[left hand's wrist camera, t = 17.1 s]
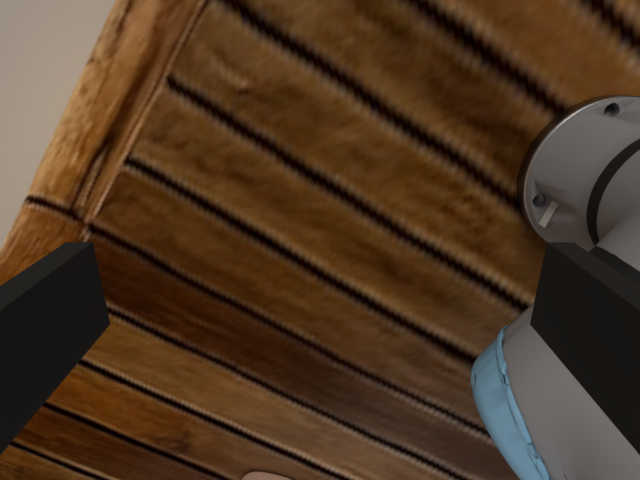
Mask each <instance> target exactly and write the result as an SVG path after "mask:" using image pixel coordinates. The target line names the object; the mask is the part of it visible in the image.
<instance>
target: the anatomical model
mask: <svg viewBox="0 0 640 480" xmlns="http://www.w3.org/2000/svg"><path fill="white" fill-rule="evenodd" d="M241 480H292V479H289V478H286V477H283V476H280V475H276V474H271V473H266V472H250V473H248V474H246V475H245V476H244V477H243V478H242V479H241Z"/></svg>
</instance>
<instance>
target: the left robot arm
mask: <svg viewBox="0 0 640 480" xmlns="http://www.w3.org/2000/svg"><path fill="white" fill-rule="evenodd" d="M517 190H518V201H519V206H520V210H521V212H522V215H523V217H524V219H525V221H526V222H527V224H528V225H529V227H530V228H531V229H532V230H533V231H534V232H535V233H536V234H537V235H538V236H540V237H541V238H542V239H544V240H545V241H546V242H547V246H546V251H545V256H544V260H543V265H542V270H541V274H540V279H539V284H538V288H537V293H536V298H535V302H534V303H533V304H532V305H531V306H530V307H528V308H527V309H526V310H525V311H524V312H523V313H522V314H521V315H520V316H519V317H518V318H517V319H516V320H515V321H513V322H512V323H511V324H510V325H509V326H508V325H506V326H504V327H503V328H502V329H501V330H500V331H499V333H498V337H497V338H496V339H495V340H494V341H493V342H492V343H491V344H490V345H489V346H488V347H487V348H486V349H485V350H484V351H483V352H482V353H481V355H480V356H479V357H478V358H477V359H476V361H475V362H474V364H473V367H472V370H471V386H472V390H473V391H472V392H473V397H474V401H475V404H476V407H477V409H478V412H479V414H480V416H481V419H482V421H483V423H484V425H485V427H486V429H487V431H488V433H489V434H490V436H491V438H492V440H493V441H494V443H495V445H496V446H497V448H498V449H499V451H500V452H501V454H502V455H503V457H504V458H505V460H506V461H507V463H508V464H509V466H510V467H511V468H512V470H513V471H514V472H515V474H516V475H517V476H518V477H519V478H520V480H640V97H638V96H626V95H608V96H601V97H596V98H593V99H589V100H586V101H584V102H581V103H579V104H577V105H575V106H573V107H571V108H569V109H567V110H566V111H564V112H563V113H561V114H560V115H559V116H557V117H556V118H555V119H554V120H552V121H551V122H550V123H549V124H548V125H547V126H546V127H545V128H544V129H543V130H542V131H541V132H540V134H539V135H538V136H537V137H536V139H535V140H534V142H533V143H532V145H531V146H530V148H529V150H528V152H527V154H526V156H525V158H524V160H523V163H522V166H521V169H520V173H519V178H518V189H517ZM109 325H110V321H109V316H108V312H107V307H106V302H105V298H104V293H103V288H102V284H101V279H100V274H99V270H98V265H97V260H96V256H95V251H94V246H93V242H66V243H64V244H63V245H61V246H60V247H58V248H57V249H55V250H54V251H52V252H51V253H49V254H48V255H46V256H45V257H43V258H42V259H40V260H39V261H37V262H36V263H34V264H33V265H31V266H30V267H28V268H27V269H25V270H24V271H22V272H21V273H19V274H18V275H16V276H15V277H13V278H12V279H10V280H9V281H7V282H6V283H4V284H3V285H1V286H0V455H1V454H2V453H3V451H4V450H5V449H6V448H7V447H8V445H9V444H10V443H11V442H12V441H13V439H14V438H15V437H16V436H17V435H18V433H19V432H20V431H21V430H22V429H23V428H24V426H25V425H26V424H27V423H28V422H29V420H30V419H31V418H32V417H33V416H34V414H35V413H36V412H37V411H38V410H39V408H40V407H41V406H42V405H43V404H44V402H45V401H46V400H47V399H48V398H49V397H50V395H51V394H52V393H53V392H54V391H55V389H56V388H57V387H58V386H59V385H60V383H61V382H62V381H63V380H64V379H65V377H66V376H67V375H68V374H69V373H70V371H71V370H72V369H73V368H74V367H75V365H76V364H77V363H78V362H79V361H80V360H81V358H82V357H83V356H84V355H85V354H86V352H87V351H88V350H89V349H90V348H91V346H92V345H93V344H94V343H95V342H96V340H97V339H98V338H99V337H100V336H101V334H102V333H103V332H104V331H105V330H106V329H107V327H108V326H109Z"/></svg>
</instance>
